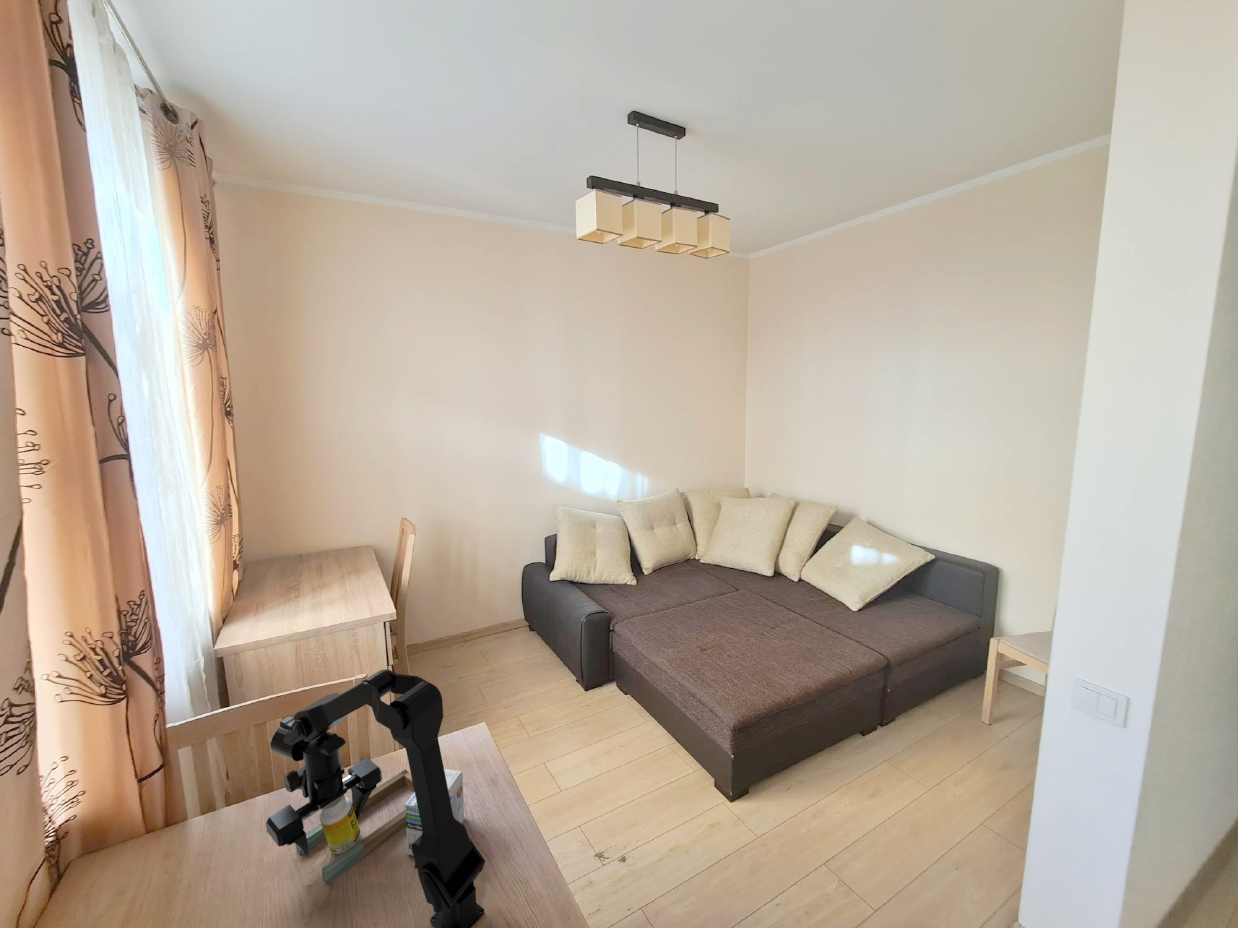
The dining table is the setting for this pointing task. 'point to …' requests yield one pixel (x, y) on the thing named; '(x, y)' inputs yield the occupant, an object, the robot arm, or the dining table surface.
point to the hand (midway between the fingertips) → (332, 836)
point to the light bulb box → (457, 804)
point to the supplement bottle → (340, 825)
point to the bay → (370, 841)
